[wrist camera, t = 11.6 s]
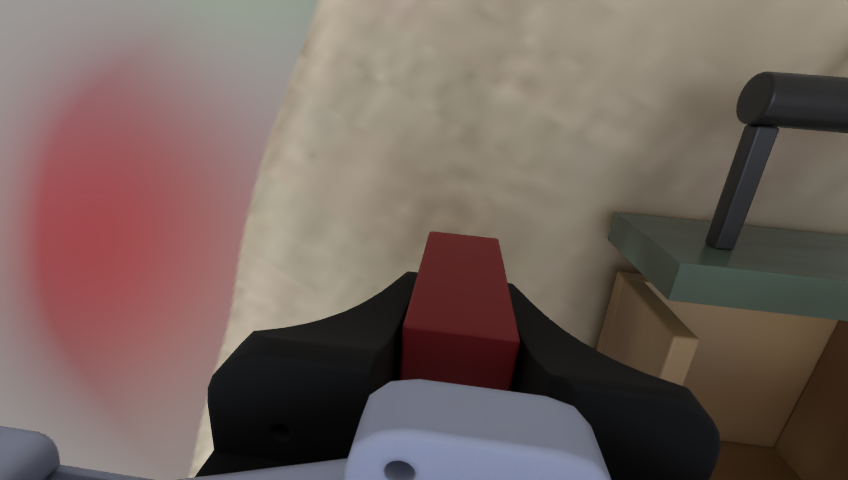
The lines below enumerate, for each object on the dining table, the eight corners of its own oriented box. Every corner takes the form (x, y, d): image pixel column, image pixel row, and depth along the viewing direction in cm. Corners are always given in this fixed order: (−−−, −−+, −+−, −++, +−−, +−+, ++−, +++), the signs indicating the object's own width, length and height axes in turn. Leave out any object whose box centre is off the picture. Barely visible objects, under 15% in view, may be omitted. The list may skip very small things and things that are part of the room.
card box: (429, 230, 13) (402, 324, 7) (498, 238, 12) (521, 340, 7) (418, 355, 14) (389, 505, 9) (479, 363, 14) (486, 520, 9)
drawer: (649, 73, 14) (746, 60, 9) (963, 98, 13) (1250, 97, 8) (562, 415, 19) (594, 522, 14) (781, 445, 19) (893, 569, 14)
